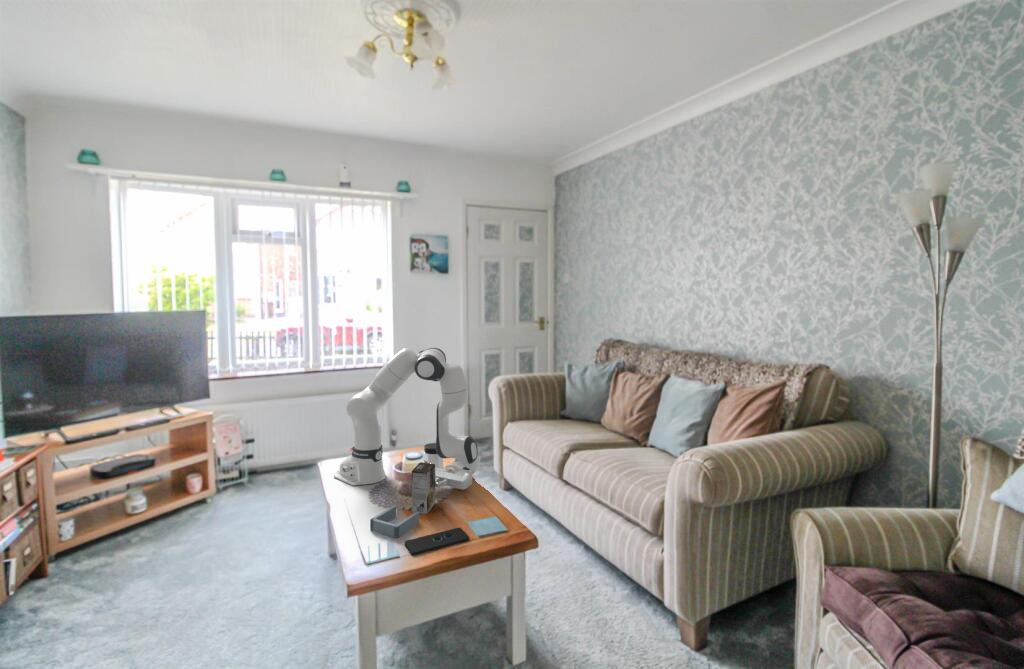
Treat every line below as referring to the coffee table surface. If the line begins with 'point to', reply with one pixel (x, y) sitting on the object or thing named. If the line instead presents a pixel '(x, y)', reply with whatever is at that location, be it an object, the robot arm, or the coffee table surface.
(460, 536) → the smart home device
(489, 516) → the coffee table surface
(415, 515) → the grey u-shaped channel
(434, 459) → the jar
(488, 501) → the coffee table surface
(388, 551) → the coffee table surface
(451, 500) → the coffee table surface
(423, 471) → the coffee box
